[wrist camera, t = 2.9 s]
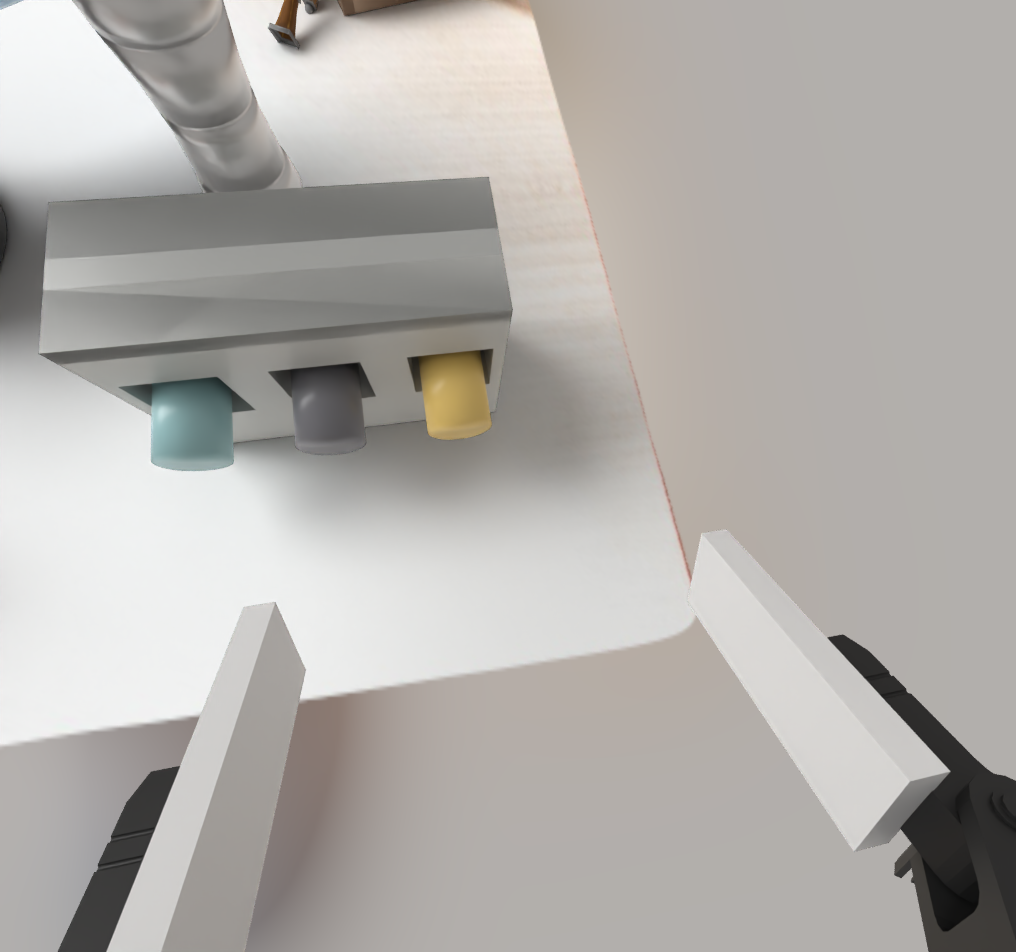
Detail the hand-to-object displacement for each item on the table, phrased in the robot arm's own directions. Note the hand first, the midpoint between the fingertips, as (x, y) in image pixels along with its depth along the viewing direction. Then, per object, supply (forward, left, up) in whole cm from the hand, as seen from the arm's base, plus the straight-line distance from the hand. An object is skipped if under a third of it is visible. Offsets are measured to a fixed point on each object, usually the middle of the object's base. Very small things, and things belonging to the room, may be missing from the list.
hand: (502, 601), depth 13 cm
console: (-3, +17, -19) cm, 26 cm away
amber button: (+3, +11, -13) cm, 18 cm away
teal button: (-11, +15, -13) cm, 23 cm away
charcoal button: (-4, +13, -13) cm, 19 cm away
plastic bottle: (-4, +33, -19) cm, 38 cm away
